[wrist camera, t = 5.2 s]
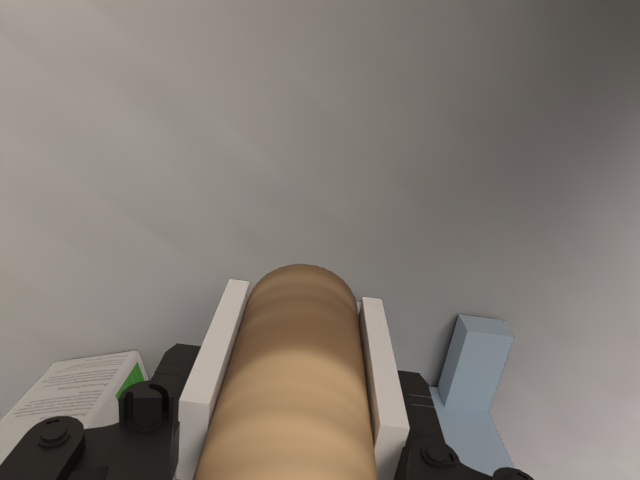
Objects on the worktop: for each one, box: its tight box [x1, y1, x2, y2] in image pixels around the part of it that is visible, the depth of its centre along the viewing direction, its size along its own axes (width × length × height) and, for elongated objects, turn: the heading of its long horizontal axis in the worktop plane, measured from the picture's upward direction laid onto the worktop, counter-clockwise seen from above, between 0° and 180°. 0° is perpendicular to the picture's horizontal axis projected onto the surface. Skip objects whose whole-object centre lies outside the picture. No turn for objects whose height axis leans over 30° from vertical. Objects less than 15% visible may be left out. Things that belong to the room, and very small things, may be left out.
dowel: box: [193, 264, 378, 480], centre depth 13 cm, size 4×4×11 cm
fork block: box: [356, 301, 514, 476], centre depth 29 cm, size 10×12×8 cm
